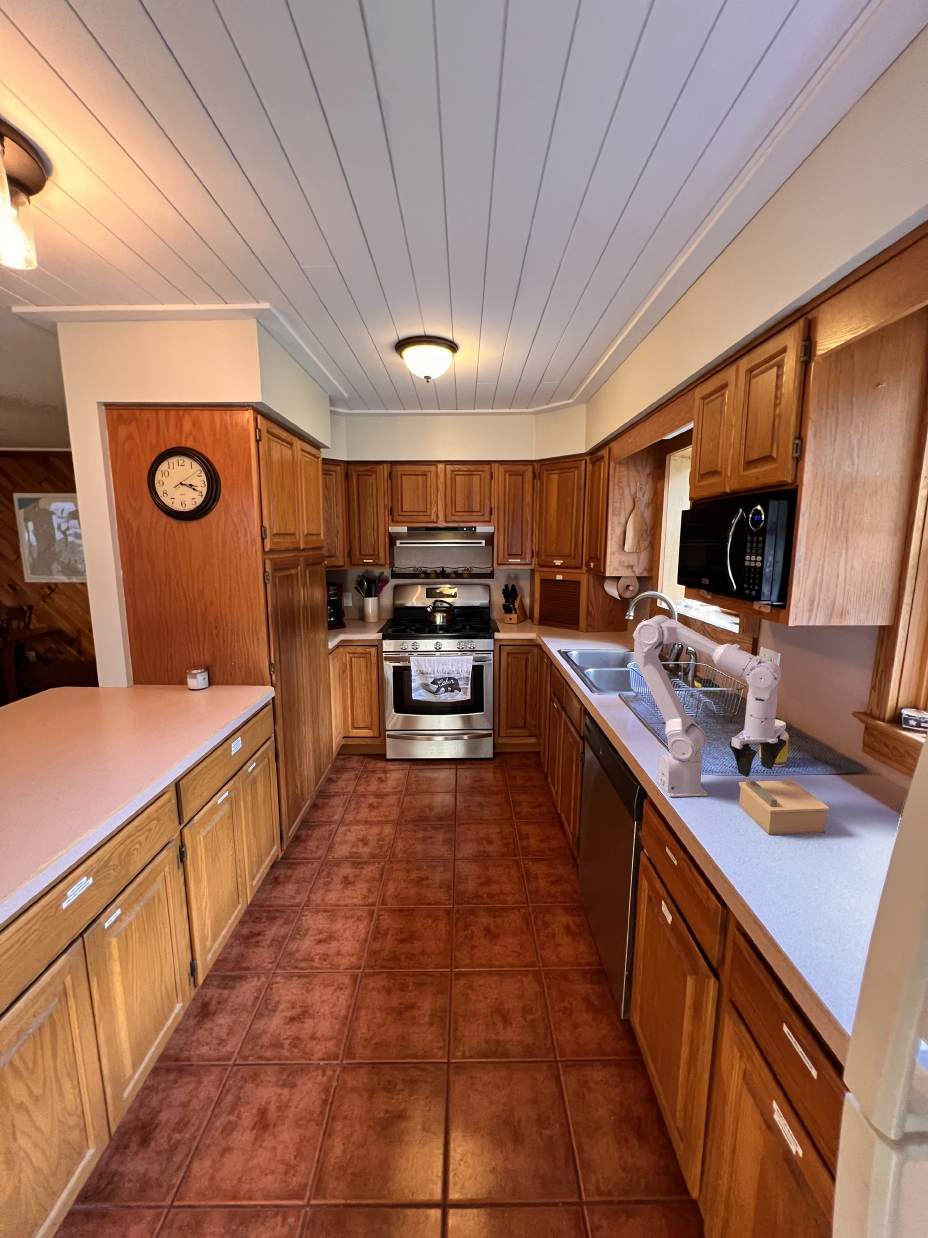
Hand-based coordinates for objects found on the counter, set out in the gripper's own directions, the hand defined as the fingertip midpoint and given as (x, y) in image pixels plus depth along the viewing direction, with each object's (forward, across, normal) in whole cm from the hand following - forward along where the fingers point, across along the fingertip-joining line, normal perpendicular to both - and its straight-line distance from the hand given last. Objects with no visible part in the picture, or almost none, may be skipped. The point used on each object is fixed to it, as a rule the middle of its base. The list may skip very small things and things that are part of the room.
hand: (755, 771), depth 112 cm
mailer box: (+10, +2, -5) cm, 11 cm away
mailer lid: (+4, +2, -5) cm, 7 cm away
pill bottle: (+10, +26, +13) cm, 31 cm away
